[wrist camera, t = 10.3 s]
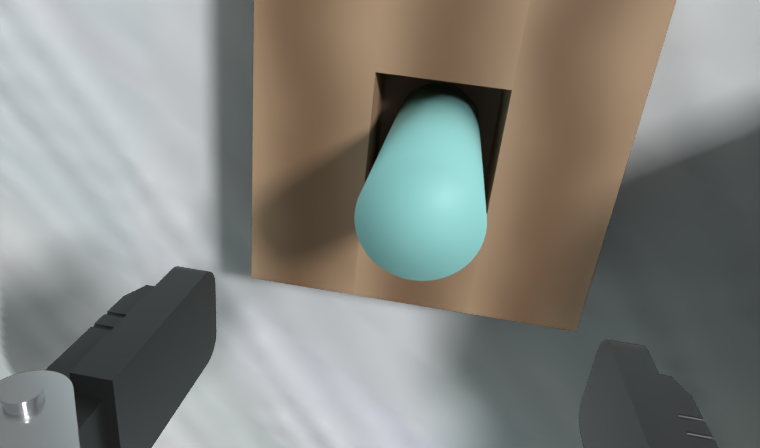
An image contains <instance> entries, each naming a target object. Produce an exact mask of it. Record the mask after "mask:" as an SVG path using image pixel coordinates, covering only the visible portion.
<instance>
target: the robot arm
mask: <svg viewBox="0 0 760 448" xmlns="http://www.w3.org/2000/svg"><path fill="white" fill-rule="evenodd" d="M215 340H216V295H215V278H214V275H213V273H212V272H208V271H202V270H196V269H190V268H184V267H178V266H177V267H174V268H173V269H172V270H171V271H170V272H169V273H168V274H167V275H166V276H165V277H164V278H163V279H162V280H161V281H160V282H159V283H158V284H157V285H156V286H149V285H146V286H144V287H142V288H140V289H138V290H136V291H134V292H131V293H129V294H127V295H125V296H123V297H122V298H121V299H120V300H119V301H118V302H117V303H116V304H115V305H114V306H113V307H112V308H111V309H110V310H109V311H108V313H107V315H106V314H104V315H103V316H102V317H101V318H100V319H99V320H98V321H97V322H96V323H95V325H94V327H90V328H89V329H88V330H87V331H86V332H85V333H84V334H83V335H82V336H81V337H80V338H79V339H78V340H77V341H76V342H75V343H74V344H72V345H71V346H70V347H69V348H68V349H67V350H66V351H65V352H64V353H63V354H62V355H61V356H60V357H59V358H58V359H57V360H55V361H54V362H53V363H52V364H51V365H50V366H49V367H48V368H47V369H46V370H36V371H28V372H22V373H18V374H15V375H12V376H9V377H6V378H4V379H2V380H0V448H152V446H153V445H154V443H155V442H156V440H157V439H158V437H159V436H160V434H161V433H162V431H163V430H164V428H165V427H166V425H167V424H168V422H169V421H170V419H171V418H172V416H173V415H174V413H175V412H176V410H177V409H178V407H179V406H180V404H181V403H182V401H183V400H184V398H185V397H186V395H187V394H188V392H189V391H190V389H191V388H192V386H193V385H194V383H195V382H196V380H197V379H198V377H199V376H200V374H201V373H202V371H203V370H204V368H205V367H206V365H207V364H208V362H209V360H210V358H211V355H212V353H213V349H214V346H215ZM579 426H580V433H581V437H582V442H583V446H584V448H718V446H717V444H716V442H715V441H713V440H712V435H711V433H710V431H709V429H708V427H707V425H706V423H705V422H703V417H702V415H701V414H700V412H699V410H698V408H697V406H696V404H695V402H694V400H693V398H692V396H691V395H690V394H688V393H687V392H686V391H685V390H684V389H683V388H682V387H681V386H680V385H679V384H678V383H677V382H676V381H675V380H674V379H673V378H672V377H671V376H666V375H660V374H659V373H658V371H657V369H656V366H655V364H654V362H653V360H652V358H651V356H650V354H649V351H648V350H647V348H646V347H645V346H642V345H636V344H630V343H624V342H618V341H612V340H603V341H602V342H601V344H600V346H599V349H598V351H597V354H596V357H595V361H594V364H593V367H592V370H591V373H590V376H589V379H588V382H587V385H586V388H585V391H584V394H583V397H582V401H581V406H580V414H579Z"/></svg>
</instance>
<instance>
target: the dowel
mask: <svg viewBox="0 0 760 448" xmlns="http://www.w3.org/2000/svg"><path fill="white" fill-rule="evenodd" d="M354 222H355V229H356V233H357V237H358V239H359V242H360V244H361V246H362V247H363V249H364V251H365V252H366V253H367V255H368V256H369V257H370V258H371V259H372V260H373V261H374V262H375V263H376V264H377V265H378V266H380V267H381V268H382V269H384V270H386V271H387V272H389V273H391V274H393V275H395V276H398V277H401V278H404V279H409V280H416V281H430V280H437V279H441V278H444V277H447V276H450V275H452V274H454V273H456V272H458V271H459V270H461V269H462V268H464V267H465V266H466V265H467V264H468V263H470V262H471V261H472V259H473V258H474V257H475V256H476V255H477V253H478V251H479V250H480V248H481V246H482V244H483V241H484V238H485V235H486V229H487V213H486V201H485V189H484V177H483V165H482V153H481V140H480V128H479V118H478V113H477V109H476V107H475V105H474V103H473V101H472V100H471V99H470V97H469V96H468V95H467V94H466V93H465V92H464V91H462V90H461V89H459V88H457V87H455V86H453V85H450V84H445V83H432V84H427V85H424V86H421V87H419V88H417V89H416V90H414V91H413V92H412V93H411V94H410V95H409V96H408V97H407V98H406V99H405V100H404V102H403V103H402V105H401V108H400V110H399V112H398V114H397V116H396V118H395V120H394V122H393V125H392V127H391V129H390V131H389V133H388V135H387V137H386V140H385V142H384V144H383V146H382V148H381V150H380V152H379V155H378V157H377V159H376V161H375V163H374V165H373V167H372V169H371V172H370V174H369V176H368V178H367V180H366V182H365V184H364V187H363V189H362V191H361V193H360V195H359V197H358V200H357V203H356V208H355V216H354Z"/></svg>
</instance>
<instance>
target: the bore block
mask: <svg viewBox="0 0 760 448" xmlns="http://www.w3.org/2000/svg"><path fill="white" fill-rule="evenodd" d="M675 3H676V0H254V42H253V147H252V252H251V278H256V279H262V280H268V281H274V282H280V283H286V284H292V285H298V286H304V287H310V288H316V289H322V290H328V291H334V292H340V293H346V294H353V295H359V296H365V297H371V298H377V299H383V300H389V301H395V302H401V303H407V304H413V305H419V306H425V307H431V308H437V309H443V310H449V311H455V312H461V313H467V314H473V315H479V316H485V317H491V318H498V319H504V320H510V321H516V322H522V323H528V324H534V325H540V326H546V327H552V328H558V329H564V330H570V331H576V330H577V327H578V323H579V320H580V317H581V313H582V310H583V307H584V303H585V300H586V297H587V294H588V290H589V287H590V284H591V280H592V277H593V274H594V270H595V267H596V264H597V261H598V257H599V254H600V251H601V247H602V244H603V241H604V237H605V234H606V231H607V228H608V224H609V221H610V218H611V214H612V211H613V208H614V204H615V201H616V198H617V195H618V191H619V188H620V185H621V181H622V178H623V175H624V171H625V168H626V165H627V162H628V158H629V155H630V152H631V148H632V145H633V142H634V138H635V135H636V132H637V129H638V125H639V122H640V119H641V115H642V112H643V109H644V105H645V102H646V99H647V96H648V92H649V89H650V86H651V82H652V79H653V76H654V72H655V69H656V66H657V63H658V59H659V56H660V53H661V49H662V46H663V43H664V39H665V36H666V33H667V30H668V26H669V23H670V20H671V16H672V13H673V10H674V6H675ZM432 83H445V84H450V85H453V86H455V87H457V88H459V89H461V90H462V91H464V92H465V93H466V94H467V95H468V96H469V97H470V99H471V100H472V101H473V103H474V105H475V107H476V109H477V113H478V118H479V128H480V140H481V153H482V165H483V177H484V189H485V201H486V213H487V229H486V235H485V238H484V241H483V244H482V246H481V248H480V250H479V251H478V253H477V255H476V256H475V257H474V258H473V259H472V261H471V262H470V263H468V264H467V265H466V266H465V267H464V268H462V269H461V270H459V271H458V272H456V273H454V274H452V275H450V276H447V277H444V278H441V279H437V280H430V281H416V280H409V279H404V278H401V277H398V276H395V275H393V274H391V273H389V272H387V271H386V270H384V269H382V268H381V267H380V266H378V265H377V264H376V263H375V262H374V261H373V260H372V259H371V258H370V257H369V256H368V255H367V253H366V252H365V251H364V249H363V247H362V246H361V244H360V242H359V239H358V237H357V233H356V229H355V222H354V216H355V208H356V203H357V200H358V197H359V195H360V193H361V191H362V189H363V187H364V184H365V182H366V180H367V178H368V176H369V174H370V172H371V169H372V167H373V165H374V163H375V161H376V159H377V157H378V155H379V152H380V150H381V148H382V146H383V144H384V142H385V140H386V137H387V135H388V133H389V131H390V129H391V127H392V125H393V122H394V120H395V118H396V116H397V114H398V112H399V110H400V108H401V105H402V103H403V102H404V100H405V99H406V98H407V97H408V96H409V95H410V94H411V93H412V92H413V91H414V90H416V89H417V88H419V87H421V86H424V85H427V84H432Z"/></svg>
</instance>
